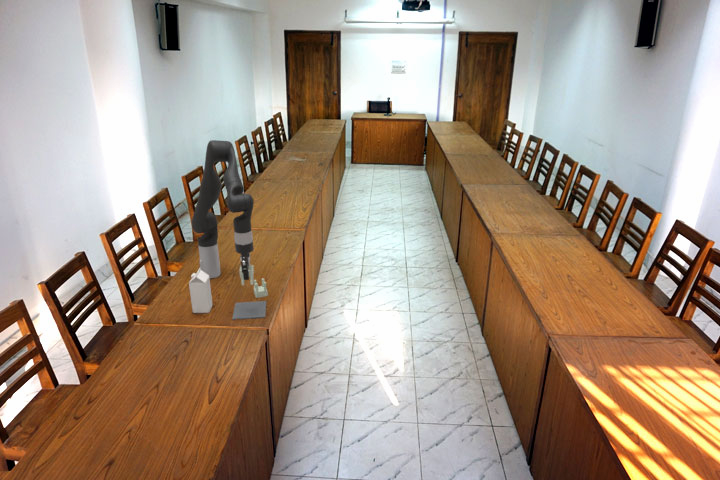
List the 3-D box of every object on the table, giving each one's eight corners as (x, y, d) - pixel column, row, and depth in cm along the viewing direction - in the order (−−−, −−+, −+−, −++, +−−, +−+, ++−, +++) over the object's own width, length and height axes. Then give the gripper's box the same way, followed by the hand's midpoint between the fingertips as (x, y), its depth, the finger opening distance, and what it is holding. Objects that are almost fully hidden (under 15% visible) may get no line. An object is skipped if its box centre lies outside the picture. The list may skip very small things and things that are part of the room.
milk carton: (212, 305, 231) (208, 267, 223) (209, 313, 224) (204, 274, 217) (197, 305, 230) (191, 267, 223) (192, 313, 224) (187, 274, 217)
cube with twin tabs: (240, 285, 218) (239, 271, 215) (241, 280, 223) (240, 265, 220) (253, 285, 219) (252, 270, 216) (254, 279, 224) (253, 264, 221)
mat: (232, 319, 219) (232, 318, 219) (235, 303, 232) (235, 302, 231) (265, 317, 221) (265, 316, 220) (266, 302, 233) (266, 300, 233)
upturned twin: (256, 298, 237) (255, 284, 234) (253, 293, 242) (252, 279, 239) (267, 296, 239) (266, 282, 236) (265, 290, 244) (264, 277, 241)
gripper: (236, 234, 219) (239, 269, 226) (232, 247, 206) (236, 284, 213) (253, 233, 220) (256, 268, 227) (251, 246, 207) (254, 283, 214)
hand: (247, 276), depth 220 cm, fingers closed on cube with twin tabs, 5 cm apart
